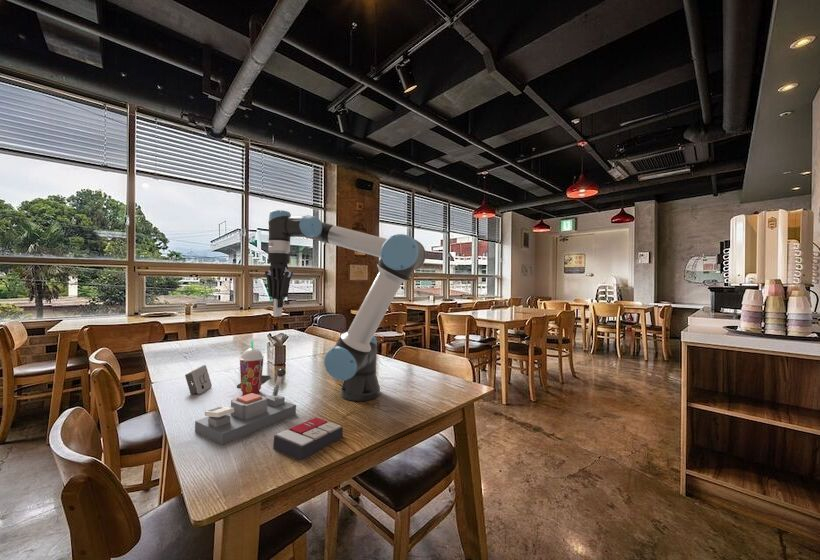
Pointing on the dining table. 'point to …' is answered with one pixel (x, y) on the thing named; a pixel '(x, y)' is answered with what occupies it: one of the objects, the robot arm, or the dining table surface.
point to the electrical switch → (198, 380)
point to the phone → (264, 378)
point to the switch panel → (245, 419)
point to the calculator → (307, 438)
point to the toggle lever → (278, 381)
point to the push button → (249, 398)
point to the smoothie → (251, 370)
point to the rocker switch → (219, 411)
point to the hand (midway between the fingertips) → (277, 316)
